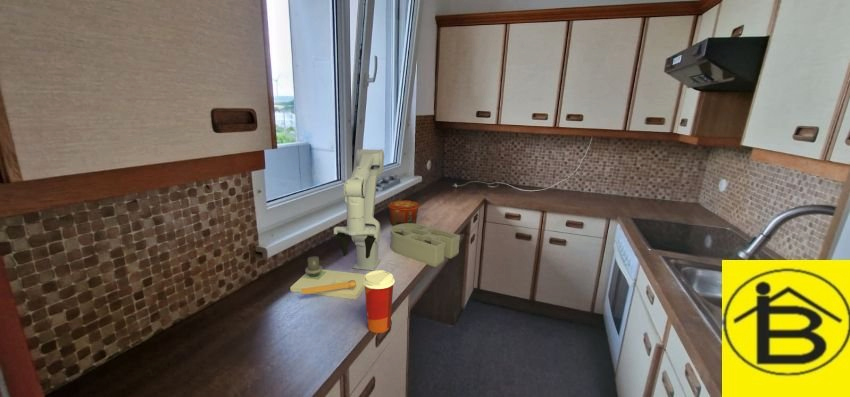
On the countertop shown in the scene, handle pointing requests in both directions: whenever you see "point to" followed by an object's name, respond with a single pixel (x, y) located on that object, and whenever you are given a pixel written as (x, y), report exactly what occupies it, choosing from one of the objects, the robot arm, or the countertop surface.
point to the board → (331, 278)
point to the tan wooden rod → (329, 287)
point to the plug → (313, 267)
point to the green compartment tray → (424, 243)
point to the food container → (403, 212)
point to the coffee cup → (378, 300)
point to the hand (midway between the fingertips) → (356, 256)
